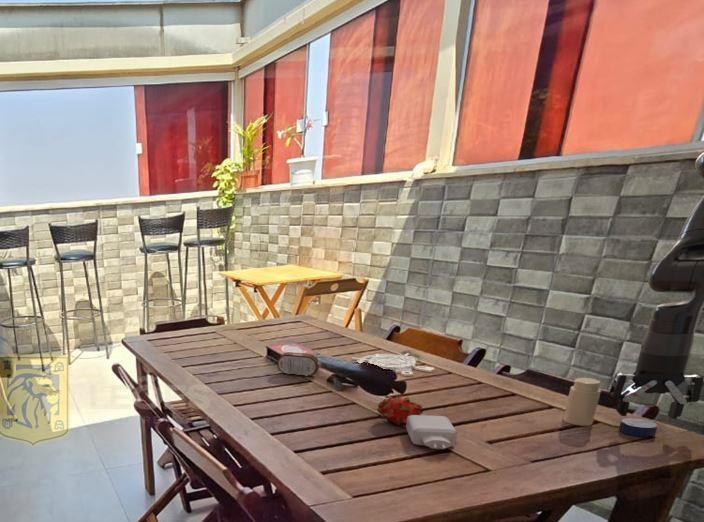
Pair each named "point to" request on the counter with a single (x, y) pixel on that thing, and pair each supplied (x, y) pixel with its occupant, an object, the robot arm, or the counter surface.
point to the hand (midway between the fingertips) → (646, 416)
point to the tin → (298, 363)
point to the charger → (431, 431)
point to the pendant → (395, 363)
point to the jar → (582, 402)
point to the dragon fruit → (398, 409)
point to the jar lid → (638, 427)
